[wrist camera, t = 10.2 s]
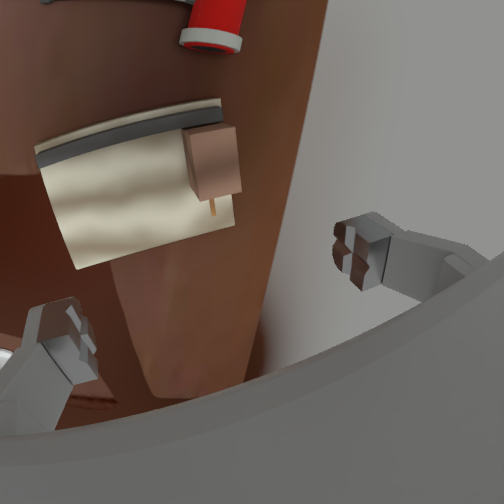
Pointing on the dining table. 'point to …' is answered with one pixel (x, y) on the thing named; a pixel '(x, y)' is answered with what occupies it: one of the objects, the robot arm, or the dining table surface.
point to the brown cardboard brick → (212, 159)
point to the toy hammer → (211, 26)
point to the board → (129, 183)
